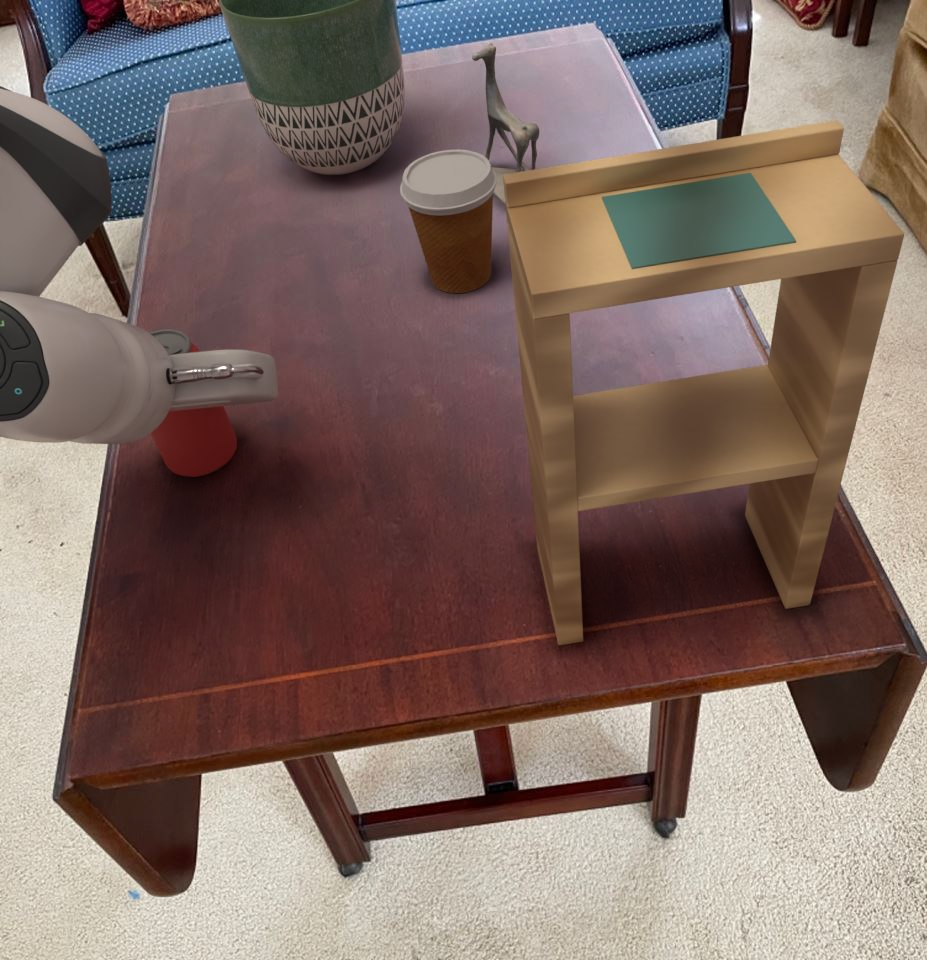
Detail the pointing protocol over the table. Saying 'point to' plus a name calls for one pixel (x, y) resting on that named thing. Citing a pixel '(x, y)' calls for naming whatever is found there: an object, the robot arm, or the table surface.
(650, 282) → the shelf
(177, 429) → the beer can
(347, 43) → the planter
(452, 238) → the disposable coffee cup
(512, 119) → the figurine
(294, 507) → the table surface
